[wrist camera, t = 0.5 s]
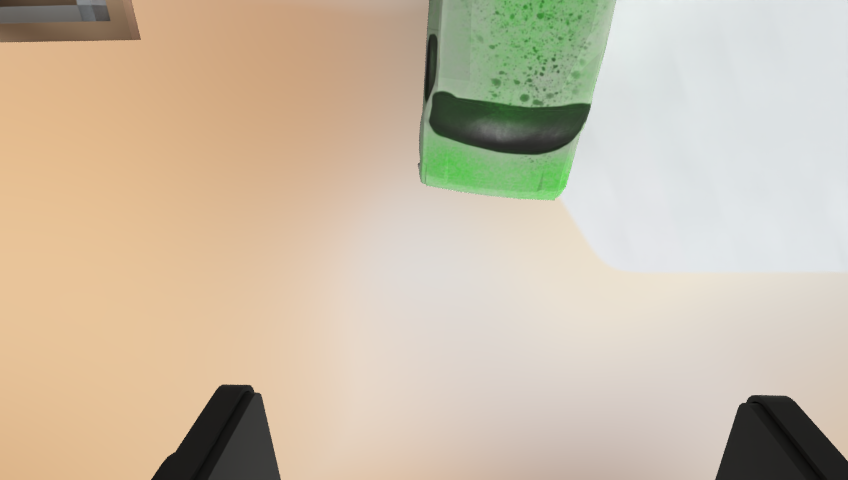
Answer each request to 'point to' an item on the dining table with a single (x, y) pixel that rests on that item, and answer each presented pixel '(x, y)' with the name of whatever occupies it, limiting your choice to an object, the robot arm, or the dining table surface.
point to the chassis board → (67, 20)
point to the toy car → (508, 93)
